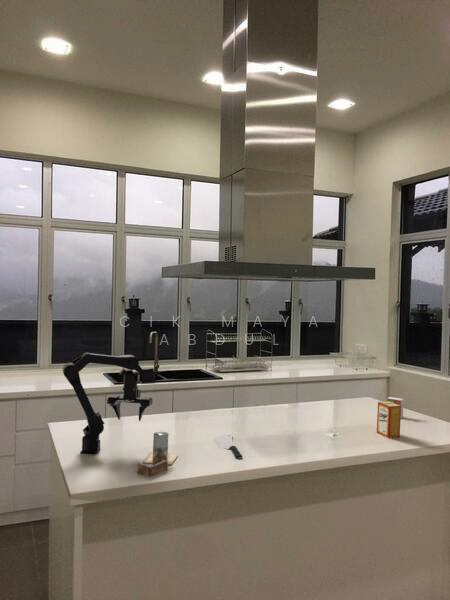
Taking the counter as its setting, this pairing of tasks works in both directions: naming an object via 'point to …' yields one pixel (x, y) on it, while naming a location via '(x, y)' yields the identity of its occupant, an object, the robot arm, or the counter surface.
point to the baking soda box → (388, 419)
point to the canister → (160, 445)
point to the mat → (170, 459)
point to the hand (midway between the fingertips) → (129, 420)
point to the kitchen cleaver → (228, 444)
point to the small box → (398, 402)
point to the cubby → (152, 467)
